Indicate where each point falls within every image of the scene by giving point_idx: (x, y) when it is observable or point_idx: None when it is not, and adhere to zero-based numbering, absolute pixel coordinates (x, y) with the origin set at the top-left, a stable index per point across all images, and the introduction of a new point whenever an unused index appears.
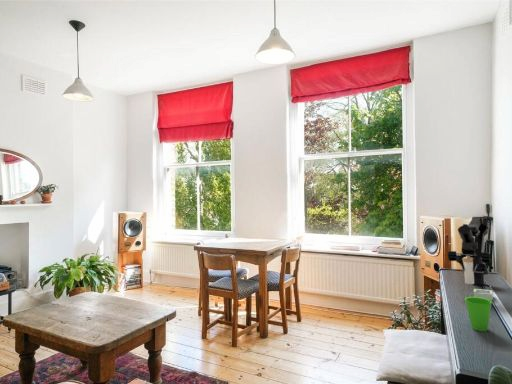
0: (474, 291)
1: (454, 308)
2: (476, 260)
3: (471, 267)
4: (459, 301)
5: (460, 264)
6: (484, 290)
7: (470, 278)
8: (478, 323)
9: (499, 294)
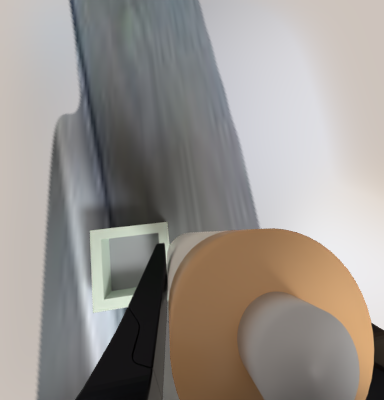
0: (166, 243)
1: (205, 76)
2: (107, 397)
3: (182, 246)
4: (206, 158)
5: None
6: (127, 295)
7: (184, 234)
8: None
9: (73, 362)
